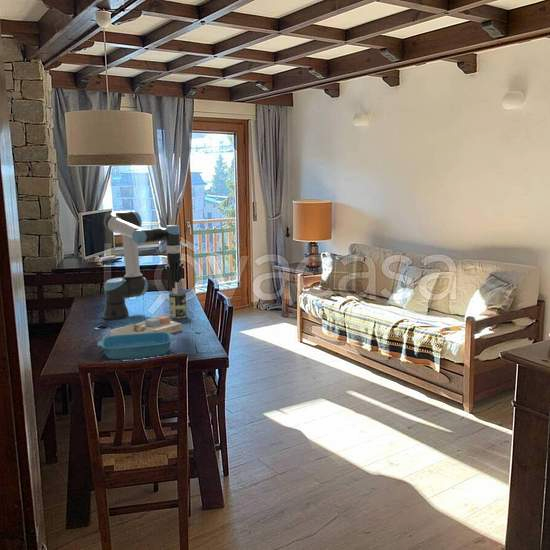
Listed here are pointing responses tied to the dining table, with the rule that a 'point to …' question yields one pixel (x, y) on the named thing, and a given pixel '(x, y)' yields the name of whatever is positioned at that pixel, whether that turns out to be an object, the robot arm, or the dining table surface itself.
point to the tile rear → (164, 319)
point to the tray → (126, 330)
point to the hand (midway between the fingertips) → (175, 293)
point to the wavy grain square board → (159, 327)
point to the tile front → (153, 322)
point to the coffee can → (177, 305)
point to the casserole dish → (136, 345)
